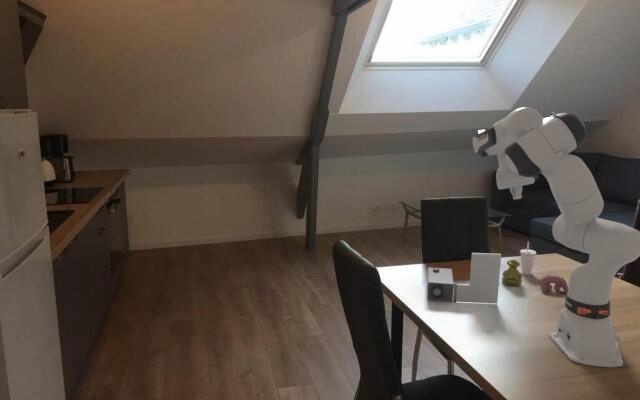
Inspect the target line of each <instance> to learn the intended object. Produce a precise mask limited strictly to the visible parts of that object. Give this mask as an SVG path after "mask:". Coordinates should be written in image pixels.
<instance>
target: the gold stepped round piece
mask: <svg viewBox="0 0 640 400" xmlns="http://www.w3.org/2000/svg"><path fill="white" fill-rule="evenodd" d="M506 264H507V266H508V269H506V270H504V271H503V272H502V277H501V279H502V280H501V283H502V284H503V285H504V286H506V287H510V288H518V287H519V288H520V287H521V286H522V281H523V280H522V279H523V274H522V272H520V270H518V267H519V266H521V262H519V261H517V260H516V259H511V260H508V261H506Z"/></svg>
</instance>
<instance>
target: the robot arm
mask: <svg viewBox="0 0 640 400" xmlns="http://www.w3.org/2000/svg"><path fill="white" fill-rule="evenodd" d="M587 140H588V132H587V130H586V125H585V124H584V122H583V121H582V120H581V118H579V117H578V116H577V115H575V114H574V113H570V112H560V113H555V112H550V115H549V116H548V117H544V116H542V115H541V113H540V112H539V111H538V110H537V109H535V108H532V107H527V106H524V107H519V108H516V109H514V110H512V111H511V112H509V113H508V115H507V116H506V117H504V118H502V119H499V120H498V121H496V122H495V123H494V124H493V125H492V126H490V127H488V128H485V129H478V130H477V131H476V132H475V133H474V134H473V137H472V147H473V151H474V152H475V154H476V155H477V156H479V157H481V158H488V157H490V156H495V155H497V161H498V168H497V169H496V173H495V176H496V177H495V179H496V187H497V189H498V190H506V189H509V192H510V193H511V195H512V199H513V200H521V199H522V198H523V196H522V192H523V186H528V185H532V184H534V183H535V181H536V180H537V179H539V177H540V176H539V174H542V175H543V177H544V178H545V179H546V180H547V181H546V182H547V183H548V185H549V187H550V190H551V193H552V195H553V197H554V200H555V202H556V205H557V206H558V209H559V210H560V211H559V212H560V215H559V216H558V217H557V218H555V220H554V221H553V224H552V227H551V228H552V229H551V230H552V236H553V238H554V240H555V241H556V242H557V243H560V244H561V245H563V246H565V247H566V248H569V249H572V250H575V251H578V252H581V253H584V254H588V256H589V259H588V261H587V263H582V264H579V265H576V266H574V267H573V268H572V270H571V271H570V273H569V281H568V293H567V294H566V293H565V294H566V295H565V298H564V307H563V308H562V309H561V310H560V311H559V312H558V316H557V320H556V327H555V331H552V332H551V333H549V338H550V339H551V341H553V343H554V344H555V345H556V346H557V347H558V349H560V350H561V351H562V353H564V355H565V356H566V357H567V358H568V359H569V360H570V361H572V362H575V363H578V364H581V365H586V366H592V367H600V368H601V367H602V368H619V367H624V361H623V358H622V354H621V351H620V348H619V344H618V343H620V342H621V334H618V333H615V332H614V330H616V324H613V321H612V316H611V301H610V296H611V290H612V285H613V280H614V277H615V276H616V274H617V272H618V271H619V270H620V269H621V268H622V267H624V266H625V265H627V264H630V263H632V262H635V261H636V260H637V259H638V258H639V257H640V230H639V229H635V228H633V227H632V226H629V225H627V224H624V223H621V222H618V221H617V222H616V221H612V220H609V219H605V218H602V217H601V218H600V217H599V216H600V215H601V214H602V211H603V210H604V205H605V204H604V203H605V202H604V199H603V196H602V194H601V192H600V189H599V186H598V185H597V182H596V180H595V177H594V176H593V174H592V172H591V170H590V169H589V168H588V166H587V165H586V163H585V162H584V161H583V159H582V158H580V157H579V156H577V155H574V154H571V152H573V151H574V150H575V149H578V148H580V147H581V146H582V145H583V144H585V143H586V141H587Z"/></svg>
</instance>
